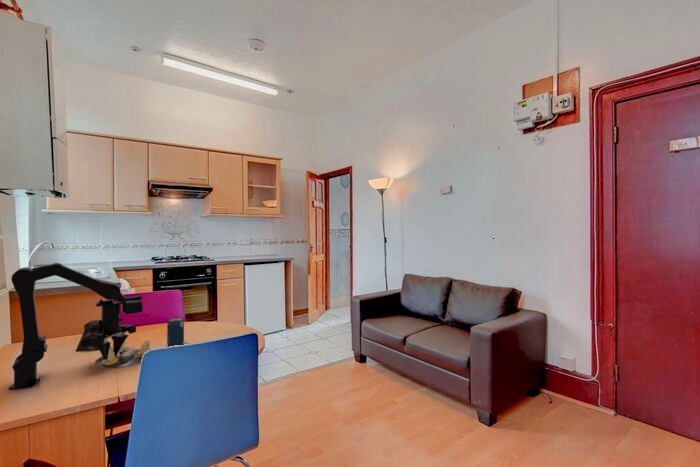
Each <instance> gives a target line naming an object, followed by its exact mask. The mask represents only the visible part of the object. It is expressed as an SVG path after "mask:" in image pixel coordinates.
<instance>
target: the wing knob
mask: <svg viewBox="0 0 700 467" xmlns="http://www.w3.org/2000/svg"><path fill="white" fill-rule="evenodd" d="M117 364H118V357H114V350H113V346H112V345H110V348H109V353H108V357H107V359H103V360H102V366H103V367H111V366H115V365H117Z"/></svg>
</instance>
